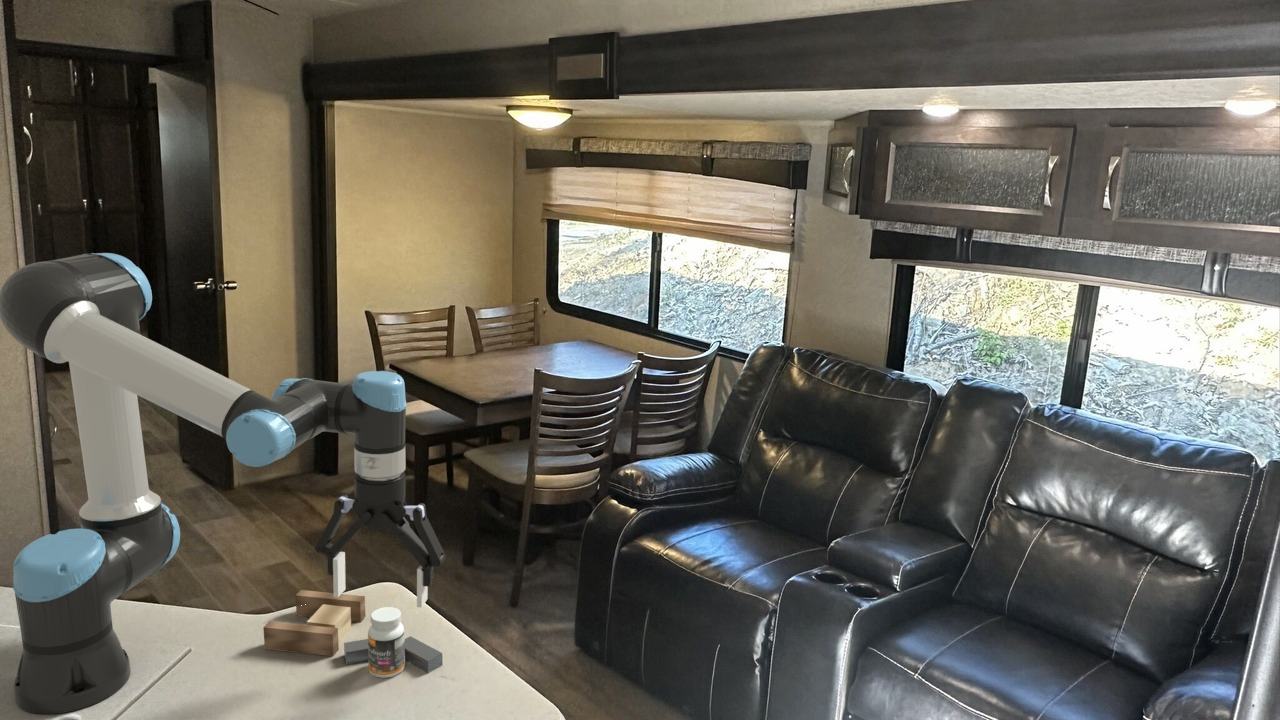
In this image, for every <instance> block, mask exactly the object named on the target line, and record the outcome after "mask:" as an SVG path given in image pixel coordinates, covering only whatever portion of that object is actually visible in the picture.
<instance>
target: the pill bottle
mask: <svg viewBox="0 0 1280 720" xmlns="http://www.w3.org/2000/svg"><path fill="white" fill-rule="evenodd" d="M370 623H371V626H370V627H368V631H367V639H368V659H369V660H368V671H369V672H370V674H371V675H372V676H374V677H377V678H381V679H387V678H391V677H395V676H397V675H399V674H400V673H402V672H403V670H404V669H405V665H406V664H405V663H406V660H405V639H406V638H405V627H404V625H403V623H402V611H401V610H400V609H398V608H396V607H391V606H385V607H380V608H377V609H375V610H374V611H372V613H371V614H370Z"/></svg>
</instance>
